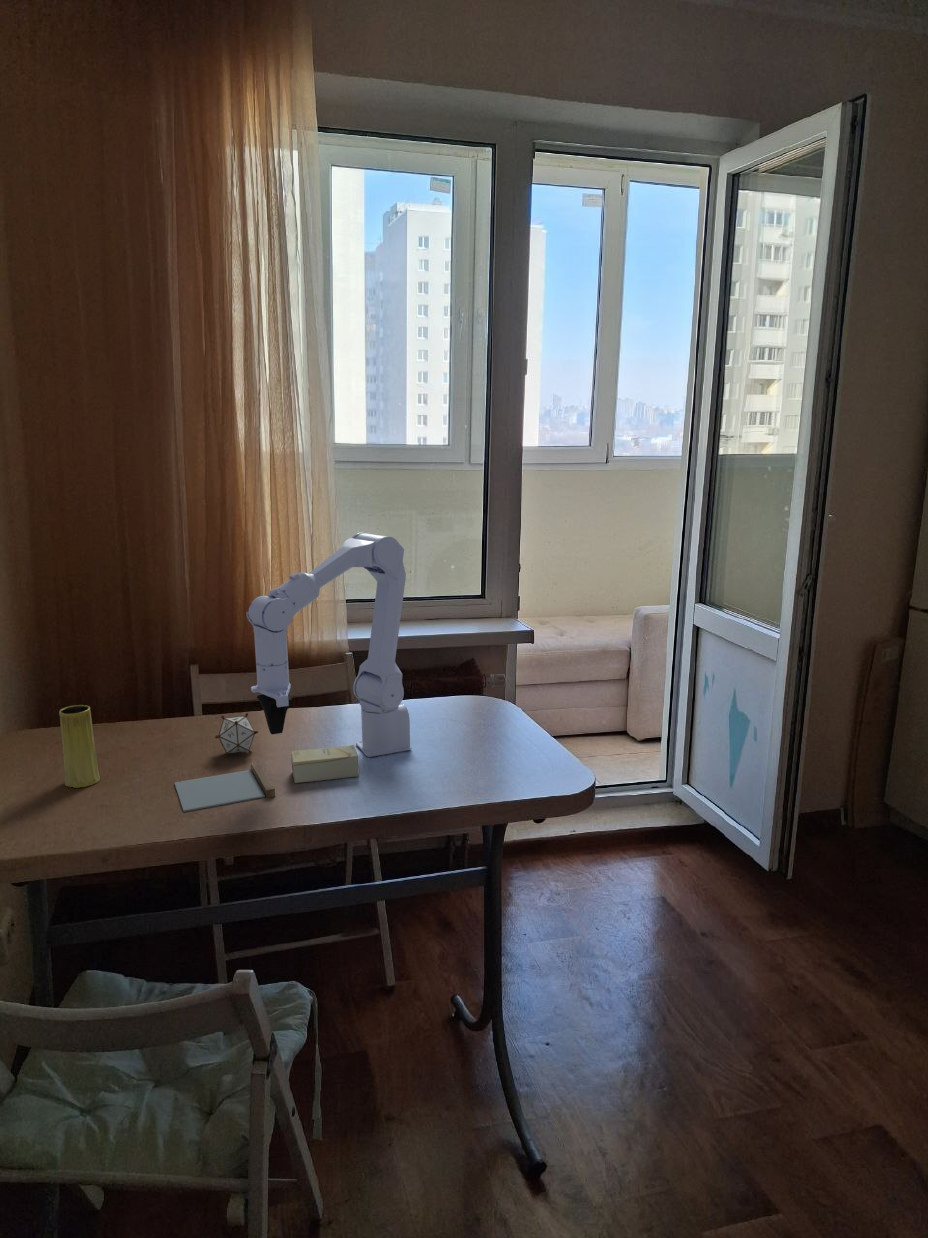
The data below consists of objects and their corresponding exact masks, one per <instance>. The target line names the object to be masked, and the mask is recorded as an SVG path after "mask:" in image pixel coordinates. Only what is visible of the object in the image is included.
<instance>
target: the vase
mask: <svg viewBox="0 0 928 1238" xmlns="http://www.w3.org/2000/svg"><path fill="white" fill-rule="evenodd" d="M58 715H59V723H60V724H59V725H60V732H61V733H60V734H61V740H62V741H61V743H62V752H63V753H62V755H63V766H64V767H63V768H64V785H65V786H66V787H67V786H68V787H67V788H71V787H73V789H79V788H80V787H82V788H87V787H90V786H93V785H95V784H96V783H98V782H99V781H100V779H101V775H100V774H99V773H100V772H99V765H98V760H97V759H98V757H97V751H96V747H95V746H96V745H95V737H94V730H93V729H94V728H93V720H92V712H91V707H90V705H84V704H78V705H77V704H76V705H69V706H65V707H62V708H61V709H59V711H58ZM80 789H81V788H80Z"/></svg>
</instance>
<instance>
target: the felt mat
mask: <svg viewBox="0 0 928 1238" xmlns="http://www.w3.org/2000/svg"><path fill="white" fill-rule="evenodd" d="M174 787H175V789H176V793H177V796H178V798H179V802H180V805H181V808H182V811H183V812H184V813H185V812H192V811H195V810H196V811H197V810H201V809H207V808H213V807H219V806H223V805H229V804H234V803H235V804H236V803H240V802H247V801H250V800H251V801H252V800H257V799H258V800H259V799H261V798H266V795H265V794H264V792H263V790H262V788H261V787H260V785H259V783H258V781H257V779H256V778H255V776H254V774H253V772H252V770H251V769H247V770H240V771H235V772H229V773H223V774H222V773H221V774H217V775H212V776H206V777H199V778H194V779H193V778H192V779H187V780H182V781H175V782H174Z"/></svg>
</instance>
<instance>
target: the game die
mask: <svg viewBox="0 0 928 1238" xmlns="http://www.w3.org/2000/svg"><path fill="white" fill-rule="evenodd" d="M248 716H249V712H246V713H245V715H241V716H235V717H234V716H233V717H225V716H224V715H221V717H220V718H221V719H222V722H221V725H220V729H219V732H218V735H215V736H214V739H218V741H220V744H221V746H222V748H223V750H224V751H225V753H224V758H226V757H227V756H228V754H235V753H243V752H248V753H249V754H250V755H252V753H253V752H252V751H251V748H252V744H253V740H254V738H255V735H256V734H259V731H258V730H255V729H254V728H253V726H252V723H251V722H250V720H249V718H248Z"/></svg>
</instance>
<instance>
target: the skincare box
mask: <svg viewBox="0 0 928 1238" xmlns="http://www.w3.org/2000/svg"><path fill="white" fill-rule="evenodd" d="M290 753H291V755H290V756H291V758H290V759H291V760H290V763H291V770H292V777H293V781H294V784H299V783H309V782H319V781H328V780H338V779H339V780H340V779H346V778H355V777H360V770H359V769H360V766H359V764H360V763H359V754H358V752H357V750H356V747H355V745H354V744H351V745H344V746H332V747H331V746H330V747H322V748H312V749H310V748H309V749H302V750H301V749H300V750H293V751H292V750H291V752H290Z"/></svg>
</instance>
